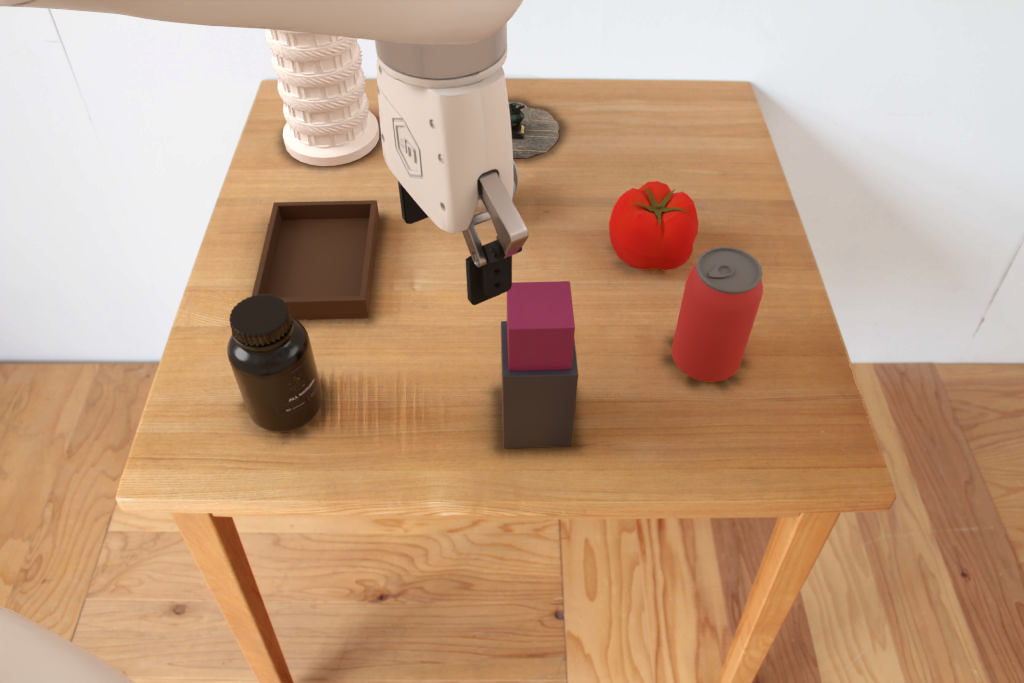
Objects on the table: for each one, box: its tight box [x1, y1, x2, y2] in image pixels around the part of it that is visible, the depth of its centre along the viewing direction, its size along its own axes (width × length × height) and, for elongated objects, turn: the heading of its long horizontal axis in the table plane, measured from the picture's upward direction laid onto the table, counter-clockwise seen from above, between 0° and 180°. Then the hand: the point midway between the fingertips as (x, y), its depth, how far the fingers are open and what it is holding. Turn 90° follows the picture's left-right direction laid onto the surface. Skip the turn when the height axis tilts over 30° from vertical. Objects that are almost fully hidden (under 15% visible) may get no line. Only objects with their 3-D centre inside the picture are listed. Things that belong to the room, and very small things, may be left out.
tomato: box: [608, 180, 699, 271], centre depth 88 cm, size 9×9×8 cm
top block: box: [506, 280, 576, 371], centre depth 67 cm, size 5×5×5 cm
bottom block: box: [500, 320, 579, 449], centre depth 73 cm, size 6×6×10 cm
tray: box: [251, 199, 380, 321], centre depth 89 cm, size 15×11×3 cm
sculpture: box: [508, 100, 560, 159], centre depth 106 cm, size 12×9×8 cm
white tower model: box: [265, 29, 380, 167], centre depth 98 cm, size 12×12×18 cm
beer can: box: [671, 246, 764, 383], centre depth 77 cm, size 7×7×12 cm
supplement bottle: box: [226, 294, 324, 433], centre depth 73 cm, size 7×7×12 cm
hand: (455, 254), depth 61 cm, fingers open, 9 cm apart
